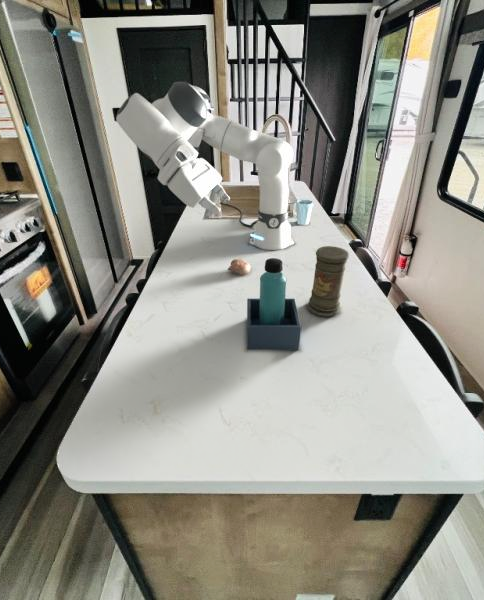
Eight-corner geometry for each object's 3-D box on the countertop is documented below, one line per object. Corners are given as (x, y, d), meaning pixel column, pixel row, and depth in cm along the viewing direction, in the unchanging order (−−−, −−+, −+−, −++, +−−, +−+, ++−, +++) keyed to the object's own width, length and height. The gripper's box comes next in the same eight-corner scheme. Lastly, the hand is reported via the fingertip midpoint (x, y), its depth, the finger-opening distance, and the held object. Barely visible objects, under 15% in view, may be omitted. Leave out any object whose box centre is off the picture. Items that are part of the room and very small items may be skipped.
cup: (300, 226, 152) (302, 205, 147) (291, 222, 158) (293, 201, 153) (313, 224, 155) (316, 202, 149) (304, 220, 161) (306, 199, 155)
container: (318, 297, 99) (327, 242, 89) (344, 308, 93) (356, 251, 84) (301, 308, 94) (308, 251, 84) (328, 321, 88) (338, 262, 78)
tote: (247, 319, 89) (247, 298, 85) (292, 319, 89) (294, 298, 85) (247, 349, 78) (247, 327, 75) (298, 350, 78) (301, 327, 74)
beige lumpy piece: (226, 277, 110) (248, 273, 108) (223, 260, 109) (245, 255, 107) (232, 277, 117) (253, 273, 115) (229, 261, 117) (250, 256, 115)
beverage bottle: (282, 339, 80) (287, 268, 69) (256, 336, 81) (257, 265, 70) (284, 324, 85) (290, 256, 75) (260, 321, 86) (262, 253, 76)
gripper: (186, 164, 83) (224, 203, 86) (154, 181, 66) (203, 229, 70) (201, 145, 80) (240, 187, 83) (172, 158, 63) (222, 210, 66)
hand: (223, 206), depth 76 cm, fingers open, 8 cm apart
